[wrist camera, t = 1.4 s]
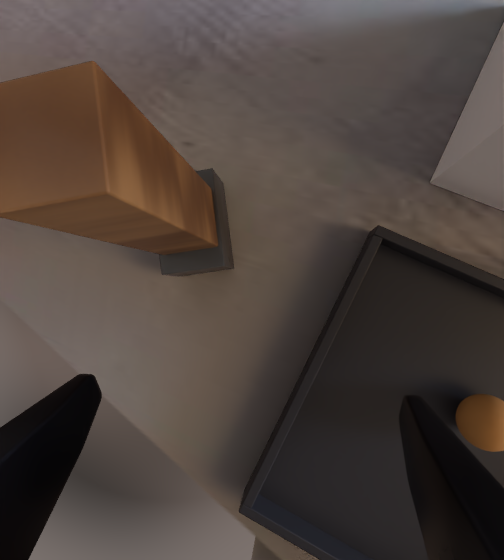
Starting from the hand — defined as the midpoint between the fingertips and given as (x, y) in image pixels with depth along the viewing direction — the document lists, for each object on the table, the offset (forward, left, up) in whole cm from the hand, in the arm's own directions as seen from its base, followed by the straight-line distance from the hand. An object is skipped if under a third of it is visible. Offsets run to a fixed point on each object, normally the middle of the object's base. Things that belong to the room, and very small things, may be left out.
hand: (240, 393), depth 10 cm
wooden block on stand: (+4, +8, -13) cm, 16 cm away
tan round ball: (+1, -13, -11) cm, 17 cm away
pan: (-1, -12, -13) cm, 18 cm away
